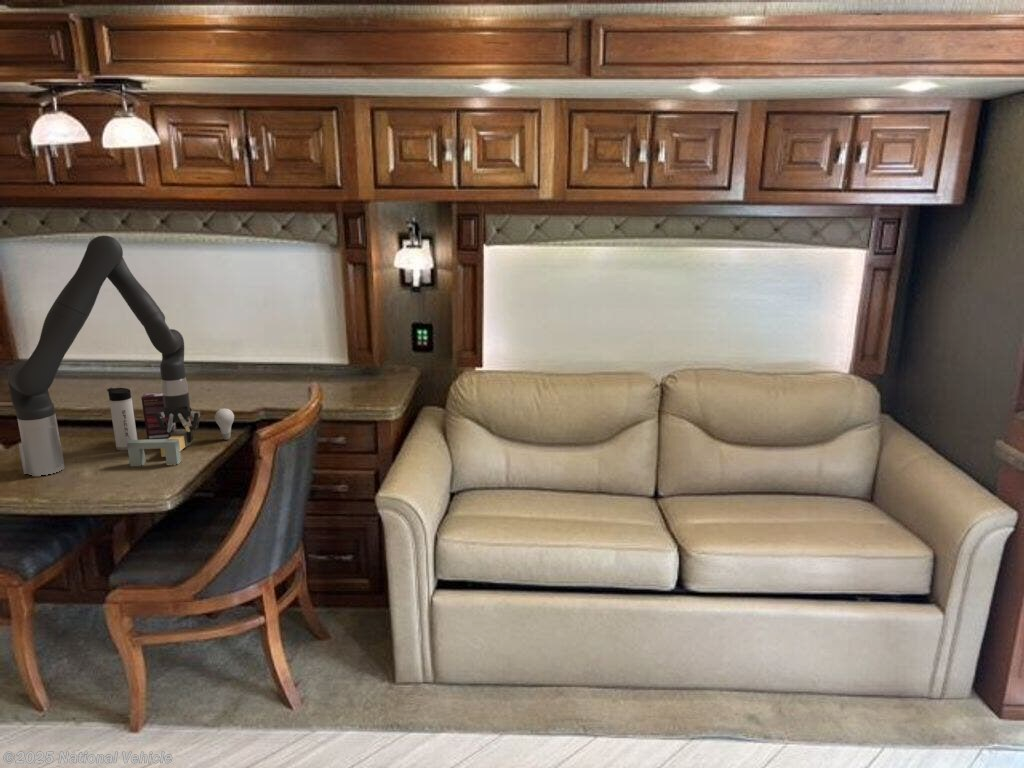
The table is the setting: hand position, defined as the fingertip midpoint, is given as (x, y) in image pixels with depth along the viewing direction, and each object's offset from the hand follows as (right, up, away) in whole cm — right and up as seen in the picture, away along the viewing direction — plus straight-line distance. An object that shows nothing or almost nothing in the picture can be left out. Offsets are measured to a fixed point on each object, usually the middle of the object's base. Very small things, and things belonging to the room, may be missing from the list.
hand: (181, 441), depth 222 cm
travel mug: (-18, -2, 0) cm, 18 cm away
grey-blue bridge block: (-1, -6, -14) cm, 15 cm away
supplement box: (-11, 0, +8) cm, 13 cm away
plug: (0, -2, -4) cm, 5 cm away
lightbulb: (+12, 0, +8) cm, 14 cm away
